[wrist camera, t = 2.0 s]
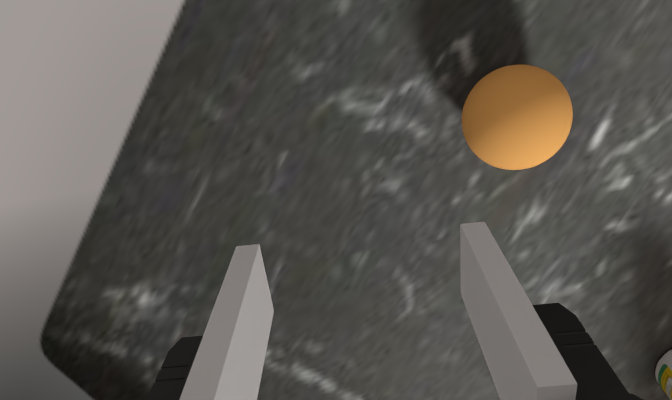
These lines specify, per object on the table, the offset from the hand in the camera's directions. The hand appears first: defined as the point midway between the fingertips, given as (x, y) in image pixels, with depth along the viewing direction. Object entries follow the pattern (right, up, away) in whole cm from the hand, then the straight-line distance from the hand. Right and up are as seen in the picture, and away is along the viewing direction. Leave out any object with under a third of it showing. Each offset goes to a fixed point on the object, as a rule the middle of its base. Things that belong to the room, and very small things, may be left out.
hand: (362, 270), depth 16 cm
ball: (+9, +7, +12) cm, 17 cm away
